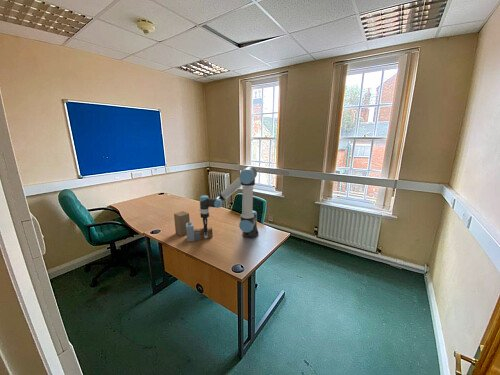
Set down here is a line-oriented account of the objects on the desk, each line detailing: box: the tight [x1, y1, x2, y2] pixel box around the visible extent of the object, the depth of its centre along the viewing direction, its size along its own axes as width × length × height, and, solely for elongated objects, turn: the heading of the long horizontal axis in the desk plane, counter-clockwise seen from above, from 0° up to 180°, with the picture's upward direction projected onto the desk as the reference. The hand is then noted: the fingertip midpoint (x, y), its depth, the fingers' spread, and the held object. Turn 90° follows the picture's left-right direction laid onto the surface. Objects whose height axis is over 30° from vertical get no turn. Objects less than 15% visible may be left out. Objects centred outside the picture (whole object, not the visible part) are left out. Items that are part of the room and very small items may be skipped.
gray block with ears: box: [186, 221, 201, 242], centre depth 185 cm, size 11×8×16 cm
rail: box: [194, 227, 214, 240], centre depth 188 cm, size 16×4×8 cm, turn 106°
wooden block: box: [173, 210, 191, 237], centre depth 195 cm, size 10×10×20 cm
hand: (205, 236), depth 190 cm, fingers open, 4 cm apart
